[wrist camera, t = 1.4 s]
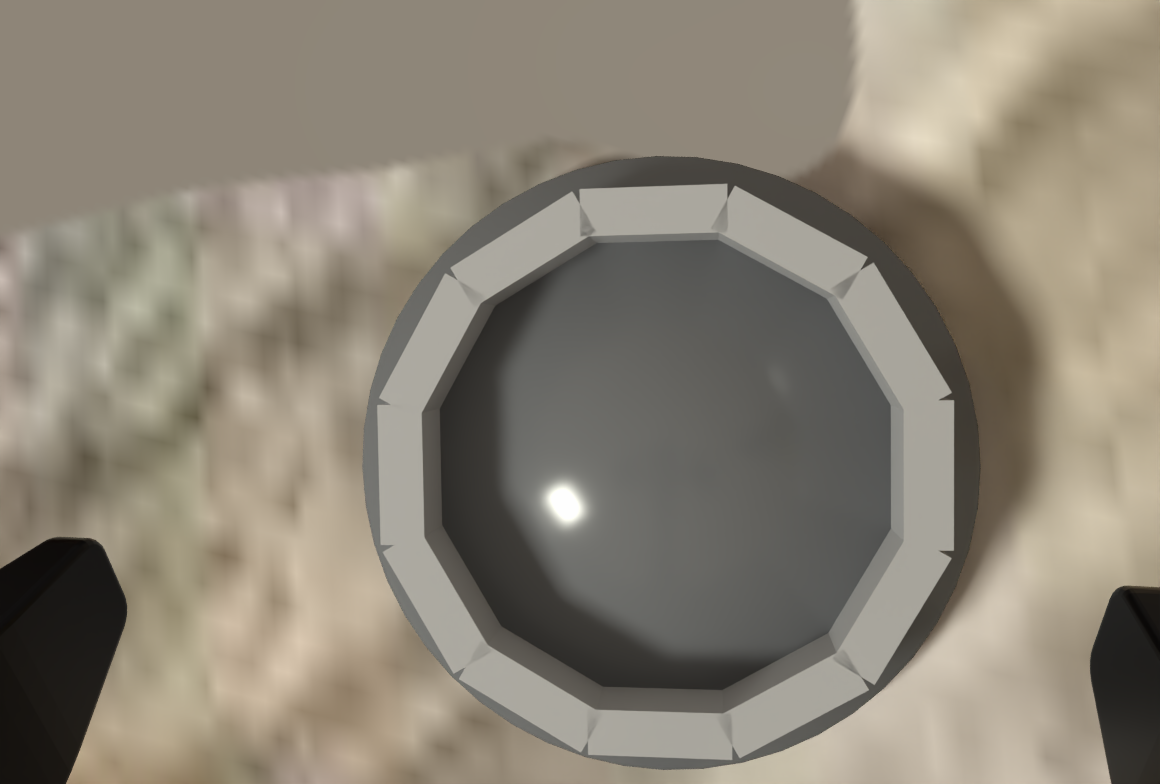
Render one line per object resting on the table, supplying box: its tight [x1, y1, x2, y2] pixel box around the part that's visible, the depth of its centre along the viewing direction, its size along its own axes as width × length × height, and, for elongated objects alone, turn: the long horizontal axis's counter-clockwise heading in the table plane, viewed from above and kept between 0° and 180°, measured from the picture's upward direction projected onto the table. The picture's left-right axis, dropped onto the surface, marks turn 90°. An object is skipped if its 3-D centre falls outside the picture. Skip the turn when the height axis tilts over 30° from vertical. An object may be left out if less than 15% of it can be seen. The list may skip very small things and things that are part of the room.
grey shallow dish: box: [363, 156, 980, 770], centre depth 23 cm, size 14×14×2 cm
